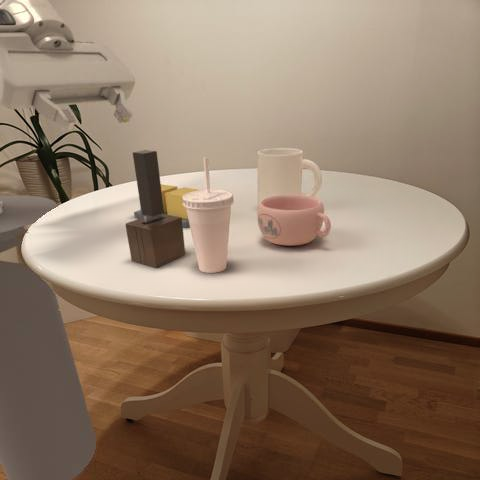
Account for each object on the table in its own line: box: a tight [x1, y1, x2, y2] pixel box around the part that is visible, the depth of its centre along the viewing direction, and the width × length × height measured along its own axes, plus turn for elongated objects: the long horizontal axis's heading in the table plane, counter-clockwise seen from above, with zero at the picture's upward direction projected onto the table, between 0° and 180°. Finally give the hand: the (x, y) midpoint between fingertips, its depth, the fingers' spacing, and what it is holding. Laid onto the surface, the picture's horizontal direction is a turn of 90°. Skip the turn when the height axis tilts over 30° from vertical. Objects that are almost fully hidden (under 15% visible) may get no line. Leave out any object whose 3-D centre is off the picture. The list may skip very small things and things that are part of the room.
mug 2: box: [256, 195, 332, 247], centre depth 63 cm, size 12×10×6 cm
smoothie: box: [183, 156, 235, 274], centre depth 54 cm, size 6×6×14 cm
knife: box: [132, 149, 164, 225], centre depth 57 cm, size 2×3×14 cm
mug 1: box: [256, 147, 323, 206], centre depth 79 cm, size 12×8×10 cm
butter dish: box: [133, 209, 190, 229], centre depth 78 cm, size 13×8×1 cm, turn 55°
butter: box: [161, 183, 200, 219], centre depth 77 cm, size 11×5×4 cm, turn 55°
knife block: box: [124, 214, 186, 269], centre depth 59 cm, size 5×6×6 cm
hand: (99, 122), depth 56 cm, fingers open, 8 cm apart
